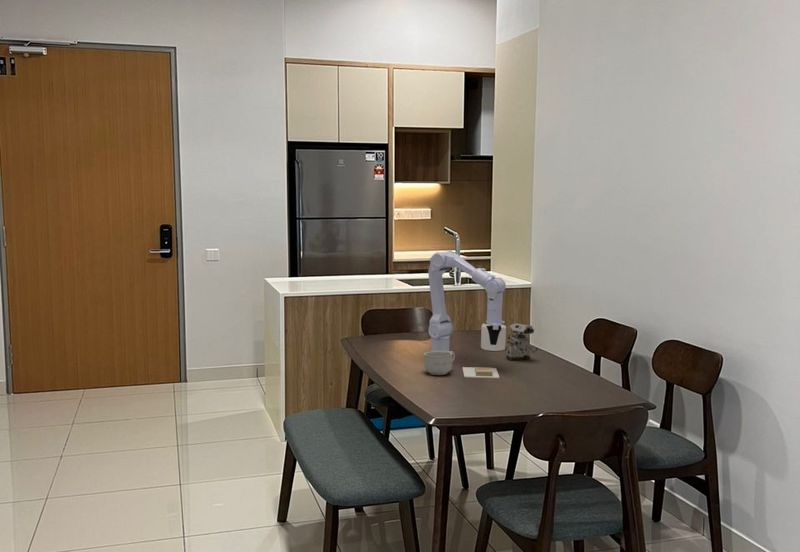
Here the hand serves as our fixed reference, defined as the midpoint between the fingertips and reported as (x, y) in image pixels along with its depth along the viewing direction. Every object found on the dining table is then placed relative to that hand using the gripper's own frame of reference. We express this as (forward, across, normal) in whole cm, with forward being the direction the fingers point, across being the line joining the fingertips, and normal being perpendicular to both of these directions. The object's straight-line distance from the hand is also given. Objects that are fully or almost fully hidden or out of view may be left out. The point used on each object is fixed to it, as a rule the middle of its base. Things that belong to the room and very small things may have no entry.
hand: (493, 344), depth 296 cm
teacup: (+10, -7, +20) cm, 24 cm away
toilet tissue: (+10, +38, -3) cm, 39 cm away
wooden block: (+9, -5, +4) cm, 11 cm away
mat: (+10, -6, +5) cm, 13 cm away
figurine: (+10, +17, -13) cm, 24 cm away
